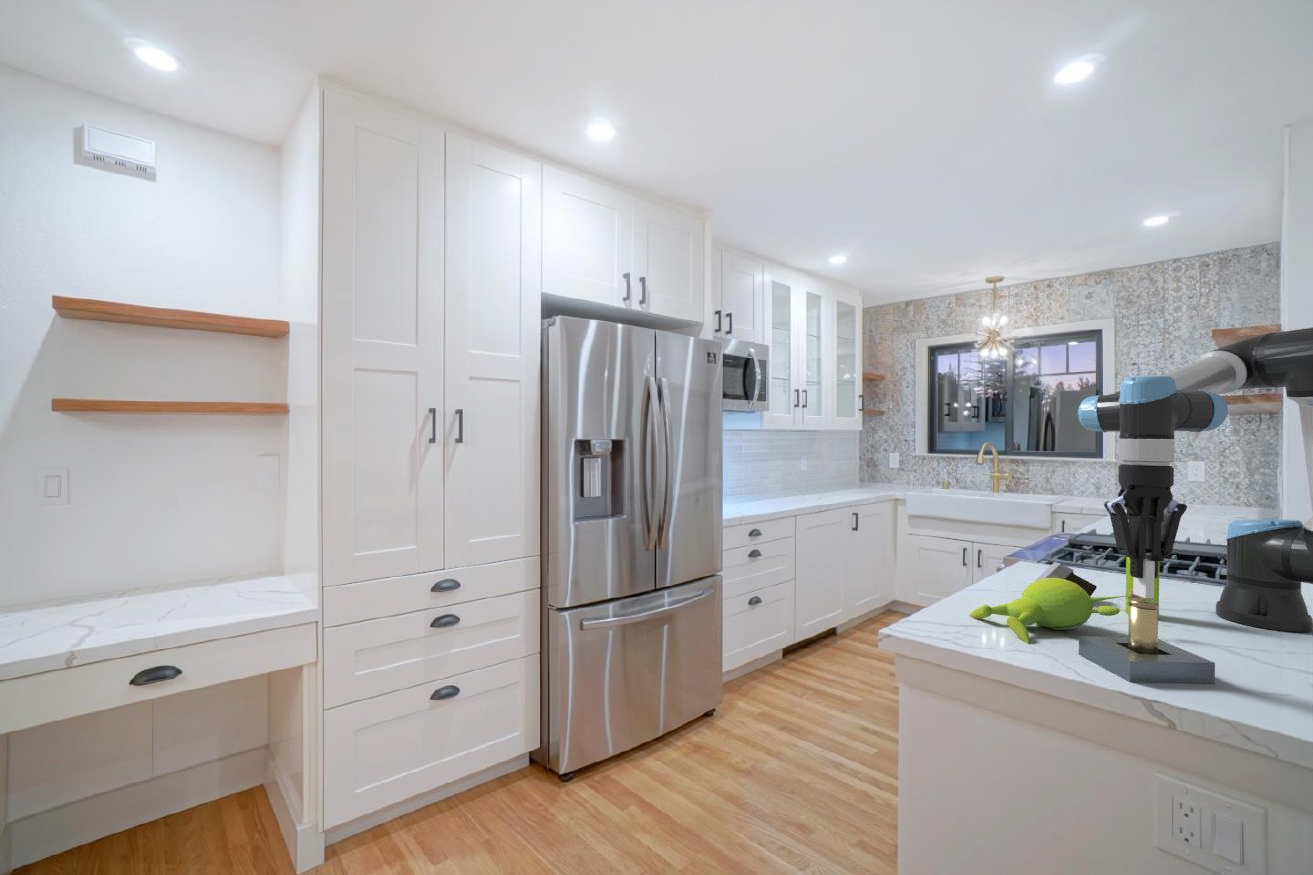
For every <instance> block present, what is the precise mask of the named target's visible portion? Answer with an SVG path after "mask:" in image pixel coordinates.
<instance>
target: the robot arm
mask: <svg viewBox="0 0 1313 875" xmlns="http://www.w3.org/2000/svg"><path fill="white" fill-rule="evenodd" d="M1266 388H1267V389H1268V388H1269V389H1270V388H1285V394H1286V398H1287V399H1289V400H1291V401H1293V402H1294V403H1296V404H1297V405H1298V409H1299V410H1298V411H1299V418H1300V425H1301V433H1302V434H1301V435H1302V441H1303V450H1304V458H1305V459H1304V460H1305V466H1306V473H1307V480H1308V488H1309V490H1308V491H1309V497H1310V498H1309V499H1310V506H1311V513H1312V514H1311V515H1313V327H1307V328H1300V329H1293V330H1292V329H1291V330H1286V331H1285V330H1284V331H1280V332H1279V331H1277V332H1267V333H1263V334H1258V335H1254V336H1251V337H1248V338H1247V337H1246V338H1243V339H1241V340H1238V341H1235V342H1232V343H1229V344H1227V345H1223V346H1221V347H1219V348H1215V349H1214V350H1210V351H1208V352H1206V353H1204V354H1202V355H1201V356H1199V357H1198V358H1197V359H1196V360H1195V362H1193V363H1191V364H1188V365H1184V366H1182V367H1180V368H1178V369H1175V370H1172V371H1170V372H1169V371H1168V372H1167V373H1165V374H1162V375H1146V376H1134V377H1128V378H1126V379H1123V380H1122V382H1121V384H1120V388H1119V389H1120V390H1119V391H1117V392H1114V393H1110V394H1106V395H1105V394H1098V395H1092V396H1088V397H1086V398H1084V399H1083V400H1082V401H1081V403H1080V405H1079V407H1078V410H1077V415H1078V420H1079V423H1080V424H1081V426H1082V427H1083V428H1084V429H1086V430H1087V431H1091V432H1102V433H1107V432H1108V433H1109V432H1110V433H1111V432H1113V433H1115V432H1116V433H1117V432H1119V436H1118V437H1119V439H1118V460H1119V461H1121V462H1122V463H1121V464H1119V465H1118V475H1117V476H1118V478H1117V479H1118V480H1117V481H1118V483H1119V485H1120V489H1119V491H1118V493H1117V498H1115V499H1113V500H1112V501H1108V500H1107V501H1105V502H1104V503H1103V506H1104V508H1105V510H1107V513H1108V514H1109V517H1110V518H1109V519H1110V521H1111V525H1112V530H1113V535H1114V539H1115V540H1114V541H1115V543H1116V548H1117V552H1118V553H1119V555H1123V556H1125V557H1129V558H1130V575H1131V576H1132V577H1133V594H1135V595H1138V596H1141V597H1143V598H1154V578H1157V577H1158V561H1159V563H1162V562H1164V561H1165V558H1170V557H1171V556H1172V552H1173V549H1174V545H1175V542H1176V537H1177V533H1178V530H1179V527H1180V522H1181V518H1182V516H1183V515H1184V513H1185V512H1186V511H1187V509H1188V505H1187V504H1185V503H1180V502H1179V501H1176V500H1175V499H1174V495H1173V493H1172V491H1171V487H1173V486H1174V484H1175V482H1174V481H1175V480H1174V479H1175V468H1174V467H1173V466H1172V465H1170V464H1171V463H1174V462H1175V432H1189V433H1190V432H1191V433H1200V432H1201V433H1202V432H1208V431H1213V430H1215V429H1217V428H1219V427H1220V426H1222V424H1223V423H1224V422H1226V419H1227V418H1228V413H1229V408H1228V407H1229V406H1228V403H1227V401H1226V400H1225V399H1224V398H1223V397H1222V396H1221V395H1222V394H1223V395H1224V394H1228V393H1229V394H1230V393H1233V392H1235V391H1238V390H1248V389H1249V390H1250V389H1266ZM1227 527H1228V528H1227V532H1226V534H1227V535H1226V537H1225V540H1226V582H1225V585H1224V587H1223V589H1222V592H1221V594H1220V597H1219V600H1217V601H1216V604H1215V614H1216V616H1218V617H1220V618H1222V619H1225V620H1228V621H1230V622H1235V623H1238V624H1242V625H1245V626H1246V625H1247V626H1250V627H1256V628H1262V629H1267V630H1268V629H1269V630H1274V631H1282V632H1283V631H1284V632H1292V633H1293V632H1295V633H1297V632H1298V633H1304V632H1311V631H1312V630H1313V617H1312V616H1311V615H1310V614H1309V611H1308V607H1307V604H1306V602H1305V598H1304V597H1303V594H1302V583H1305V584H1310V585H1313V516H1311V518H1309V519H1307V520H1306V521H1305V522H1302V521H1301V520H1299V519H1238V520H1232V521H1231V522H1230V523H1229V524H1228V526H1227Z"/></svg>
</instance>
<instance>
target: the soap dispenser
mask: <svg viewBox="0 0 1313 875" xmlns="http://www.w3.org/2000/svg"><path fill="white" fill-rule="evenodd" d="M1125 557H1126V558H1125V559H1126V562H1125V565H1126V566H1125V569H1126V570H1125V596H1127V597H1125V614H1126V613H1127V614H1129V597H1128V595H1127V594H1128V592H1129V591H1130V590H1133V577H1132V576H1131V575H1130V558H1129V557H1127V556H1125ZM1140 598H1142V599H1148V600H1152V601H1156V602H1158V619H1160V618H1159V614H1160V613H1159V612H1160V561H1158V577H1157V578H1154V598H1143V597H1141V596H1140ZM1127 614H1126V615H1127Z"/></svg>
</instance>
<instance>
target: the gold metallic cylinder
mask: <svg viewBox="0 0 1313 875" xmlns="http://www.w3.org/2000/svg"><path fill="white" fill-rule="evenodd" d="M1127 637H1128V649H1129V650H1132V651H1134V652H1136V653H1138V654H1149V655H1158V639H1159V618H1158V602H1156V601H1152V600H1148V599H1142V598H1129V615H1128V635H1127Z"/></svg>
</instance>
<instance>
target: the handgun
mask: <svg viewBox="0 0 1313 875" xmlns="http://www.w3.org/2000/svg"><path fill="white" fill-rule="evenodd" d="M1044 578H1060V579H1065V580H1068V581H1071V582H1073V583H1075V584H1077V585H1079V586H1080V587H1081V588H1083V589H1084V590H1085V591H1086V592H1087V594H1088V595H1089V596H1090V597H1092V595H1093V594H1094V592H1095V591H1096V589H1097V585H1096V584H1094V583H1092V582H1090V581H1088V580H1086V579H1084V578H1082V577H1081V576H1078V575H1076V574H1075V573H1074V569H1072V568H1070V567H1069V566H1066V565H1064V564H1062V563H1061V562H1056V561H1053V563H1052V564H1051V565H1050V566H1049V567H1048V568H1047V569H1046V570H1044V571H1043V572H1042V573H1041V574H1040V575H1039V576H1038V577H1037V578H1036V579H1035V580H1034V581H1037V580H1039V579H1044ZM1022 593H1023V591H1022V592H1021V595H1022Z"/></svg>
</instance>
